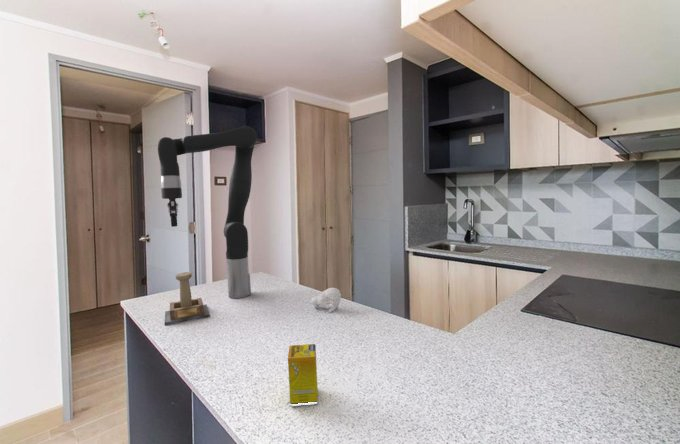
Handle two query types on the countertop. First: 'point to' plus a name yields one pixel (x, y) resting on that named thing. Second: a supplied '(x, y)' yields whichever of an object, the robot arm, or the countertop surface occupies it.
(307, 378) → the supplement box
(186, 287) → the handle
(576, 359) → the countertop surface
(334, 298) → the white animal figurine
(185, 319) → the socket
